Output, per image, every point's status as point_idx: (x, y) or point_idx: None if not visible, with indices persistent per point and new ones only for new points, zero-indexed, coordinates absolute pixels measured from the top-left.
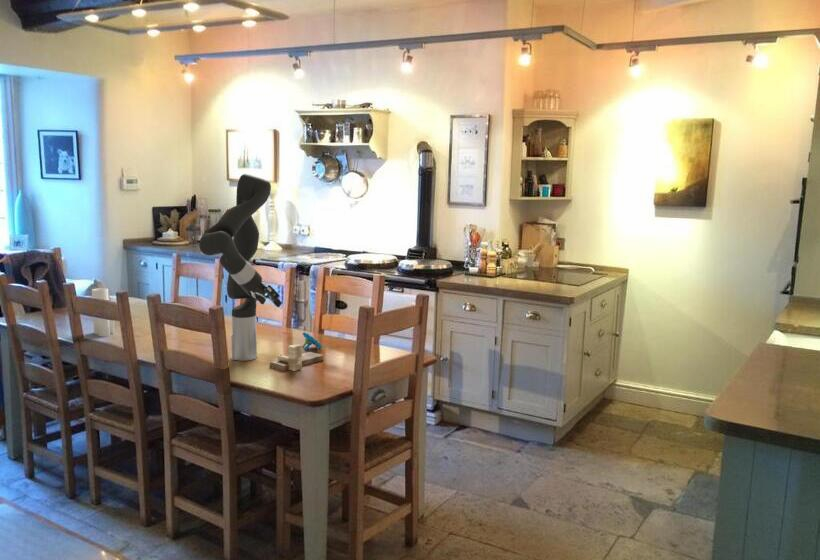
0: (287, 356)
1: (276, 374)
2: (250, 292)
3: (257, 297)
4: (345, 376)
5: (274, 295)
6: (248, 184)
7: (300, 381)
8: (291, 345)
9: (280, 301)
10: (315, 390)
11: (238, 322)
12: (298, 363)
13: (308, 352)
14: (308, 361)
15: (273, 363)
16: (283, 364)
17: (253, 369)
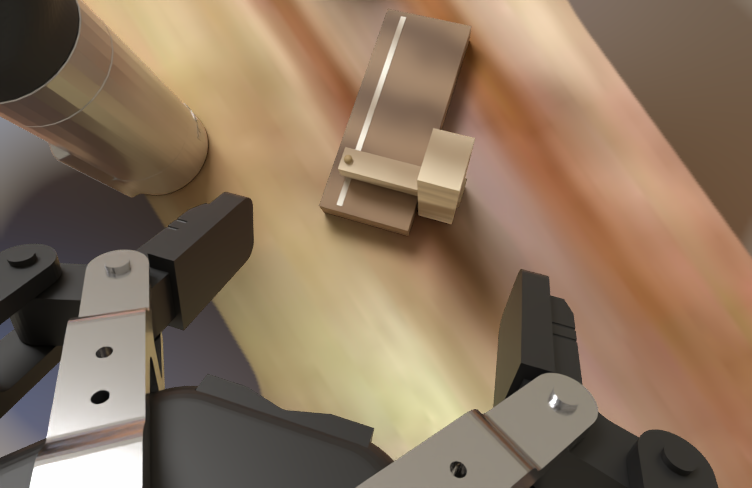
0: (383, 160)
1: (406, 287)
2: (18, 328)
3: (175, 314)
4: (688, 189)
5: (593, 477)
6: None
7: None
8: (427, 164)
9: (574, 328)
10: (693, 417)
11: (32, 118)
12: (462, 194)
13: (391, 19)
14: (447, 106)
15: (342, 212)
16: (394, 212)
17: (279, 268)
